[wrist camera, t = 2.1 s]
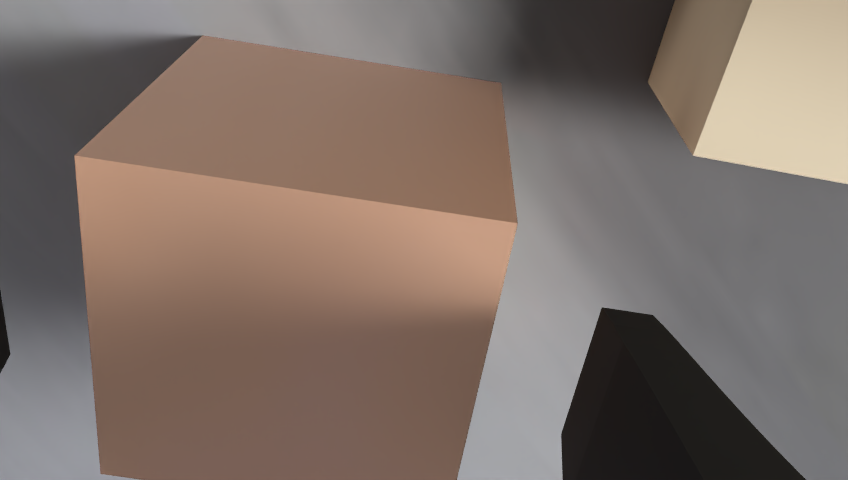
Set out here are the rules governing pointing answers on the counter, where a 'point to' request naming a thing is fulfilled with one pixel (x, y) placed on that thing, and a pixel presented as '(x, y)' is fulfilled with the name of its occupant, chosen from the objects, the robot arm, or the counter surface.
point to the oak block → (759, 83)
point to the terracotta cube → (293, 267)
